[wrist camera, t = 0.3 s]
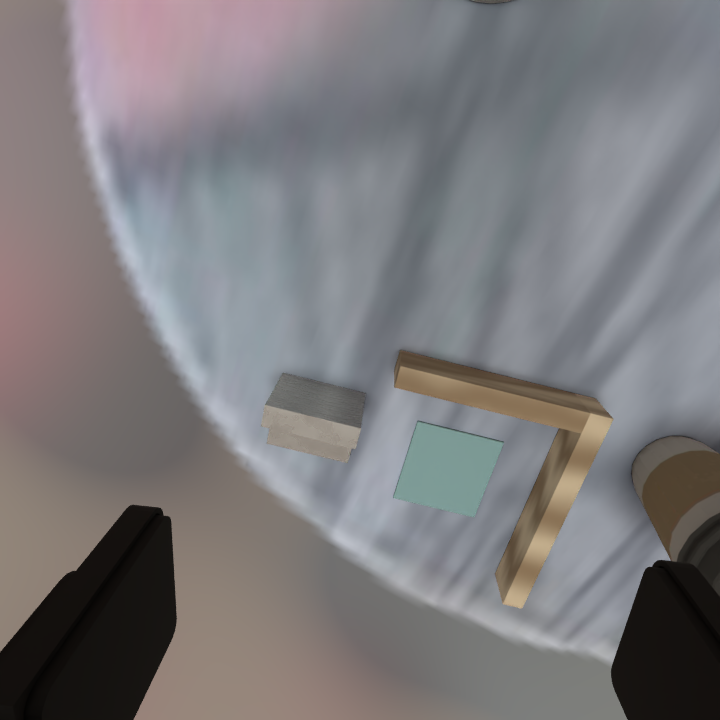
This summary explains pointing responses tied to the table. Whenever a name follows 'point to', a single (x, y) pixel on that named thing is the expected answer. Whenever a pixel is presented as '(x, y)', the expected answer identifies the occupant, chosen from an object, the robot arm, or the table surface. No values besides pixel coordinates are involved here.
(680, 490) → the coffee cup
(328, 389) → the bracket
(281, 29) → the table surface
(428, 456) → the teal square plate
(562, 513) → the wooden l-shaped piece
